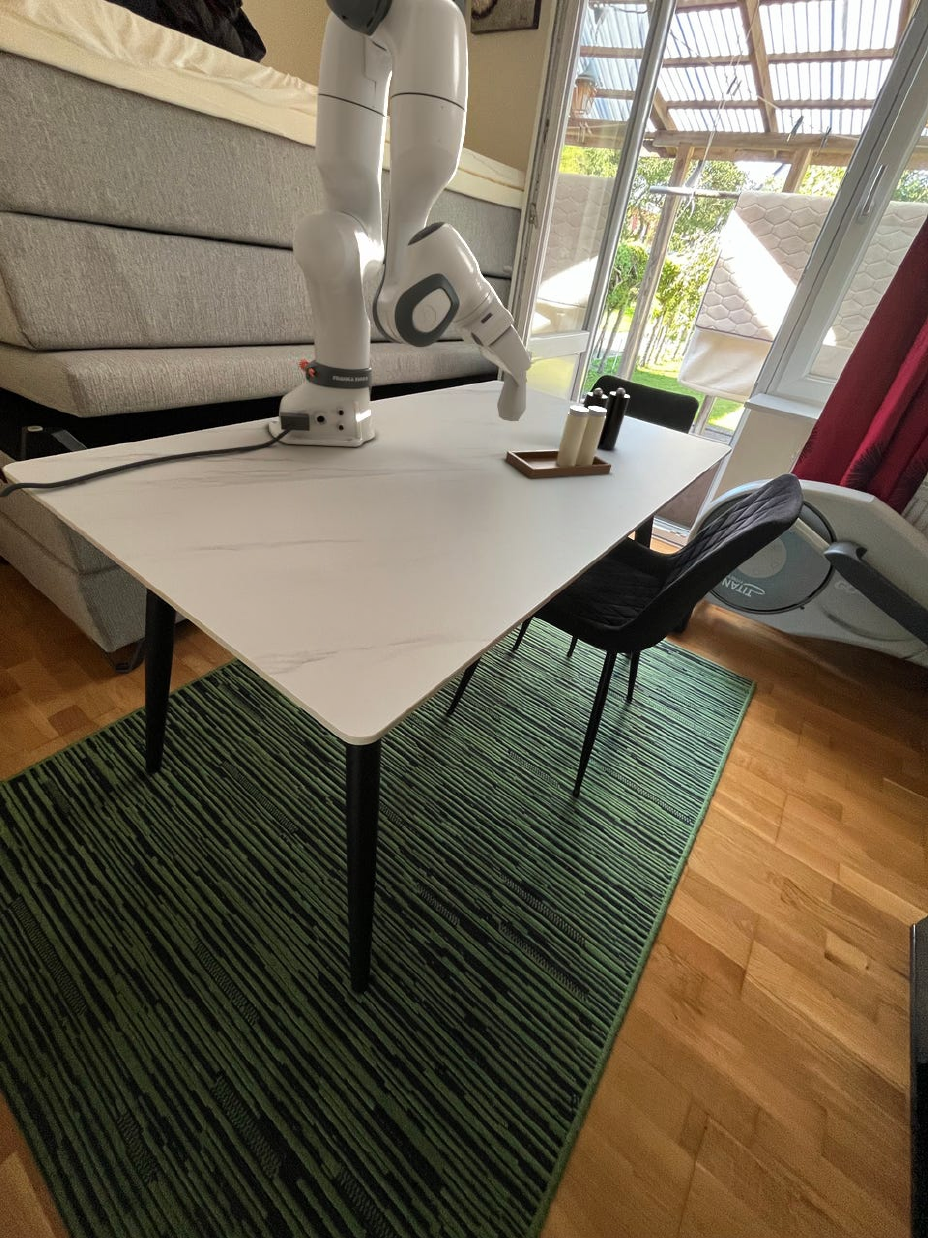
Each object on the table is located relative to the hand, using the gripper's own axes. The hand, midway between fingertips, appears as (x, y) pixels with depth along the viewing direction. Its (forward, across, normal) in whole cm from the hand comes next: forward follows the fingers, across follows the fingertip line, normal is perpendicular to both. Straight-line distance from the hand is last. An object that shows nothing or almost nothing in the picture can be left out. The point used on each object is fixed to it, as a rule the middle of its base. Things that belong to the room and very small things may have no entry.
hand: (518, 380), depth 101 cm
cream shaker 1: (+24, -2, -1) cm, 24 cm away
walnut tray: (+22, -1, -3) cm, 22 cm away
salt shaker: (+5, 0, -6) cm, 7 cm away
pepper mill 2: (+37, -16, +12) cm, 42 cm away
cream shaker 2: (+27, -2, +2) cm, 27 cm away
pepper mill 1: (+31, -14, +7) cm, 35 cm away
